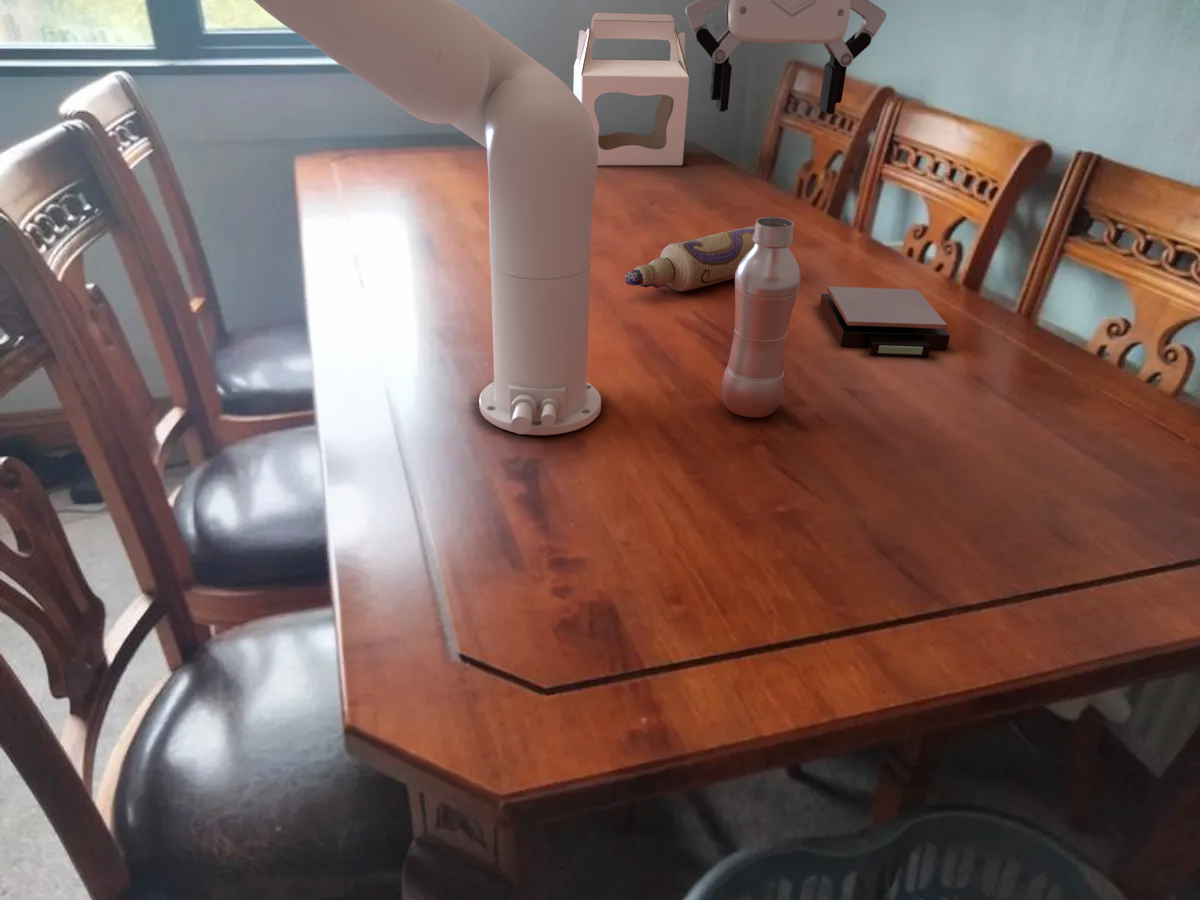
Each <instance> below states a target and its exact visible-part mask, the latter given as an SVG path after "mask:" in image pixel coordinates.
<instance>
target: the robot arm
mask: <svg viewBox="0 0 1200 900" xmlns="http://www.w3.org/2000/svg"><path fill="white" fill-rule="evenodd" d="M253 1H254V2H255V3H256V5H258V6H259V7H260V8H262V9H263V10H264V11H265V12H266V13H268V14H269V15H270V16H271V17H273V18H274V19H276V21H278V22H279V23H281V24H282V25H283V26H285V27H286V28H288V29H289V30H291V31H292V32H294V33H295V34H296V35H298V36H299V37H301V38H302V39H303V40H305V41H306V42H308V43H310V45H312V46H314V47H315V48H317V49H318V50H319V51H321V52H322V53H323V54H325V55H326V56H327V57H329V58H330V59H332V60H333V61H334V62H335V63H337V64H338V65H340V66H341V67H342V68H344V69H346V70H347V71H349V72H350V73H352V74H353V75H354V76H356V77H357V78H358V79H360V80H362V81H363V82H365V83H366V84H367V85H369V86H371V87H372V88H373V89H374V90H376V91H378V92H379V93H381V94H382V95H383V96H385V97H386V98H388V99H389V100H390V101H391V102H392V103H394V104H395V105H396V106H398V107H399V108H401V109H402V110H403V111H405V112H406V113H407V114H409V115H411V116H413V117H414V118H416V119H418V120H420V121H423V122H425V123H430V124H439V125H440V124H441V125H442V124H443V125H445V124H450V125H451V126H453V127H454V128H455V129H456V130H459V131H460V132H462V133H463V134H465V136H467V137H469V138H470V139H472V140H474V141H475V142H477V143H478V144H479V145H481V146H483V147H484V148H485V149H486V158H487V175H488V176H487V177H488V179H487V180H488V231H489V264H490V282H491V284H490V285H491V317H492V319H491V320H492V353H493V354H492V355H493V381H491V382H490V383H489V384H488V385H486V386H485V387H484V388H483V389H482V391H481V393H480V394H479V398H478V403H479V411H480V414H481V415H482V417H483V418H484V420H486V421H488V422H489V423H490V424H491V425H493V426H495V427H496V428H499V429H502V430H505V431H508V432H511V433H515V434H517V435H529V436H552V435H561V434H566V433H570V432H573V431H577V430H580V429H583V428H584V427H586V426H588V425H589V424H591V423H593V421H595V420H596V419H597V417H598V416H599V415H600V413H601V410H602V398H601V394H600V392H599V391H598V389H597V388H596V387H595V386H593V385H592V384H591V383H590V382H588V359H589V356H588V355H589V325H590V323H589V322H590V292H591V291H590V289H591V288H590V287H591V245H592V244H591V241H592V222H593V212H594V211H593V210H594V201H595V193H596V192H595V191H596V183H597V175H598V166H597V162H598V151H597V141H596V135H595V131H594V127H593V124H592V121H591V119H590V116H589V115H588V113H587V111H586V109H585V107H584V106H583V105H582V103H581V102H580V101H579V99H578V98H577V97H576V96H575V94H574V93H573V91H572V90H571V89H570V87H569V86H568V85H567V83H565V82H564V81H563V80H562V79H561V78H560V77H558V76H557V75H556V74H555V73H554V72H552V71H551V70H549V69H548V68H546V67H545V66H544V65H542V64H541V63H539V62H538V61H537V60H535V59H534V58H533V57H531V56H530V55H529V54H527V53H526V52H524V51H523V50H522V49H521V48H519V47H518V46H517V45H516V44H514V43H513V42H511V41H510V40H508V39H507V38H506V37H504V36H503V35H502V34H500V33H499V32H498V31H497V30H495V29H493V27H491V26H489V24H487V23H486V22H484V21H483V20H482V19H480V17H478V16H477V15H475V14H474V13H473V12H471V11H469V10H468V9H466V8H465V7H463V6H462V5H461V4H459V3H457V2H455V1H453V0H253ZM723 5H725V11H724V25H725V29H726V30H725V31H724V32H723V33H722V35H721V36H720V37H718V38H717V39H716V38H715V37H714V36H713V34H712V33H711V32H710V31H709V28H708V25H707V22H706V16H707V15H708V14H709V13H710V12H713V11H714V10H716V9H718V8H720V7H722V6H723ZM851 10H852V11H853V12H855V13H856V14H858V15H859V16H860V17H861V18H862V22H861V24H860V26H859V28H858V29H857V31H856V32H855V33H854V34H853V35H852V36H851V37H849V39H847V40H846V42H845V41H844V39H843V38H844V37H845V35H846V33H847V31H848V26H849V20H850V13H851ZM684 12H685V16H686V19H687V20H688V23H689V25H690V27H691V31H692V33H693V36H694V38H695V40H696V41H697V42H698V43H699V45H700V46H701V47H702V48H703V50H704V51H705V52H706V53H707V55H708V56H709V57H710V58H711V60H712V65H711V78H710V79H711V80H710V89H709V98H710V100H711V101H715V108H716V109H717V110H718V112H721V113H722V112H723V113H725V112H726V111H728V109H729V100H730V92H731V91H730V90H731V89H730V88H731V80H732V68H733V66H732V64H731V63H730V56H731V55H732V54H733V52H734V51H735V50H736V49H737V48H739V46H740V45H741V43H743V42H750V43H766V44H767V43H769V44H802V45H803V44H807V45H809V44H810V45H811V44H812V45H823V46H824V48H825V49H826V51H827V53H828V54H829V61H826V63H825V64H824V68H823V76H822V83H821V89H820V96H819V103H818V106H819V107H818V108H819V109H821V110H822V111H823V112H824V113H826V114H827V115H834V114H835V111H836V106H837V104H841V103H842V99H843V93H844V87H845V80H846V75H847V69H848V68H847V67H849V66H851V65H852V64H853V61H854V60H855V59H856V58H857V57H858V56H859V55H861V53H863V51H865V49H867V48H868V47H869V46H870V45H871V42H872V39H873V38H874V37H875V36H876V34H877V33H878V32H879V30H880V28H881V27H882V25H883V23H884V21H886V18H887V13H886V11H885V10H884V9H882V8H880V7H879V6H877V5H876V4H875V3H873V2H872V1H870V0H694V1H692V2H690V3H689V4H687V5H686V7H685V8H684Z"/></svg>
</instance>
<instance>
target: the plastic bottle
mask: <svg viewBox="0 0 1200 900" xmlns="http://www.w3.org/2000/svg"><path fill="white" fill-rule="evenodd" d="M794 224H795V223H794V222H793V221H792V220H790V219H788V218H783V217H776V216H765V217H759V218H757V219H756V220H755V224H754V225H755V232H754V234H753V241H754V242H755V245H754V247H753V248H752V249H751V250H750V251H749V252H748V253H747V254H746V255H745V257H744V258H743V259H742V261H741V262H740V263H739V265H738V268H737V270H736V273H735V278H734V301H735V302H734V304H735V305H734V306H735V307H734V308H735V310H734V311H735V312H734V328H733V339H732V344H731V348H730V351H729V352H730V353H729V358H728V363H727V365H726V367H725V370H724V374H723V377H722V382H721V399H722V402H723V404H724V405H725V407H726V408H727V410H728V411H730V412H731V413H733V414H735V415H738V416H740V417H746V418H764V417H768V416H770V415H772V414H773V413H774V412H775V411H776V410H778V408H779V407H780V405H781V403H782V401H783V400H782V399H783V397H784V394H785V371H784V365H785V352H786V351H785V349H786V342H787V341H786V339H787V335H788V330H789V326H790V320H791V316H792V313H793V309H794V306H795V304H796V303H795V302H796V300H797V296H798V293H799V292H798V291H799V289H800V287H801V286H800V285H801V282H802V275H801V269H800V267H799V264H798V262H797V259H796V258H795V256H794V255H793V253H792V251H791V249H790V246H791V245H792V244H793V242H794V237H793V235H794V229H795V228H794V227H795V225H794Z"/></svg>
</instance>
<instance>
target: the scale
mask: <svg viewBox="0 0 1200 900" xmlns="http://www.w3.org/2000/svg"><path fill="white" fill-rule="evenodd" d="M826 291H827V293H821V295H820V301H819V310H820V312H821V313H822V315H823V316H824V319H825V320H826V322H827V324H828V326H829V328H830V330H831V332H832V333H833V335H834V337H835V339H836V341H837V342H838V345H839V346H840V347H841V348H865V349H866V351H867V353H868V354H869V356H879V357H881V356H882V357H904V358H905V357H907V358H909V357H910V358H928V357H929V353H930V351H947V349H948V345H949V341H950V337H951V335H950V334H949V332H948V331H947V330H946V329H947V325H948V324H947V322H946V321H945V320H944V319H943V318H942V316H941V315H940V314H939V313H938V312H937V311H936V309H935V308H934V307H933V305H931V303H930V302H929V301H928V300H927V299H926V297H924V295H923V294H922V293H921V291H920V290H919V289H917V288H916V289H915V288H886V287H858V286H854V287H853V286H829V285H828V286H827V288H826Z"/></svg>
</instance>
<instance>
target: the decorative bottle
mask: <svg viewBox="0 0 1200 900" xmlns="http://www.w3.org/2000/svg"><path fill="white" fill-rule="evenodd" d="M754 232H755V224H753V225H750V226H747V227H746V226H745V227H741V228H736V229H731V230H728V231H721V232H719V233H712V234H709V235H706V236H701V237H696V238H693V239H687V240H680V241H679V242H674V243H670V244H668V245H666V246H665V247H664V248H663V249H662V250H661V253H660V256H659V257H657V258H655V259H652V260H650V262H649V263H647V264H641V265H637V266H636V267H635V268H634V269H632V270H629V271H628V272H627V273H626V274H625V276H624V280H625V281H624V282H625V283H626V285H629V286H633V287H634V286H638V287H641V288H648V287H653V288H655V289H659V288H661V287H667V288H669V287H670V288H671V289H672V290H674V291H676V292H686V291H691V290H697V289H699V288H704V287H709V286H711V285H713V286H714V285H715V284H718V283H719V284H720V283H722V282H725V281H726V282H727V281H731V280H735V273H736V270H737V268H738V265H739V263H740V262H741V261H742V259H743V258H744V257H745V255H746V254H747V253H748V252H749V251H750V250H751V249H752V248H753V247H754V245H755V242H754V241H753V234H754Z"/></svg>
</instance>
